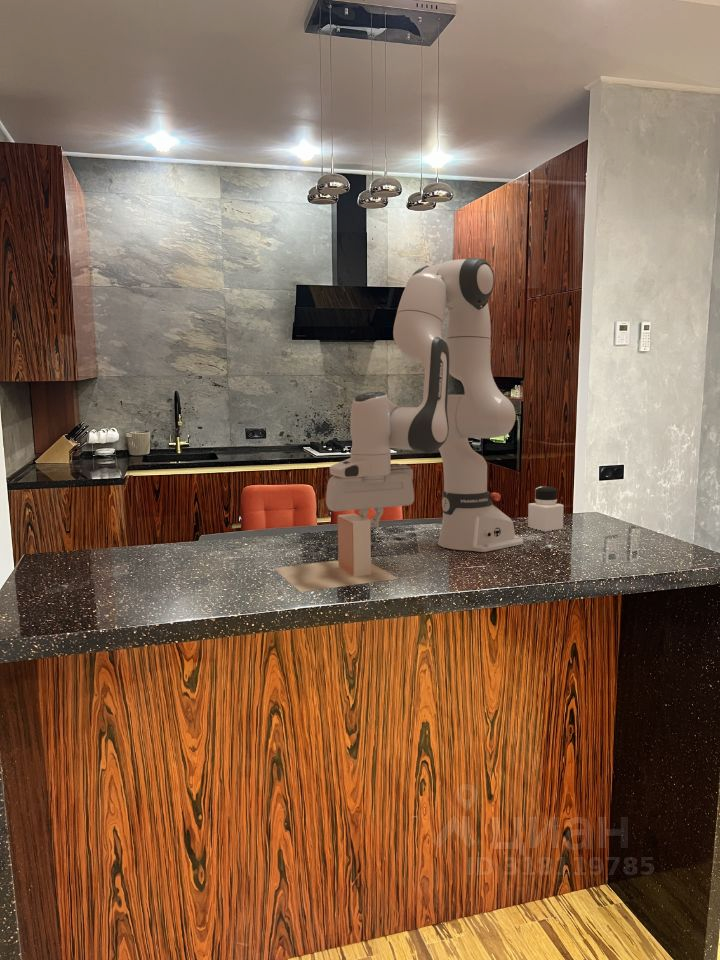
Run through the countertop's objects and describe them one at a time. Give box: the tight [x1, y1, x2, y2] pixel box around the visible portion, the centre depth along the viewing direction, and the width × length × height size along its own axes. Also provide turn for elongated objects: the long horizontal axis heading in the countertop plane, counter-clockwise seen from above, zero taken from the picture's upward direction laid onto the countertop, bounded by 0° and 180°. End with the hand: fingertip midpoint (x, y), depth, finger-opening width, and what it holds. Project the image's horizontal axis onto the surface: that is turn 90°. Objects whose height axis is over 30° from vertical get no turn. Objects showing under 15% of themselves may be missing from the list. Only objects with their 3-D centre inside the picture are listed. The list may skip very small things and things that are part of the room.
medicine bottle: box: [527, 486, 565, 533], centre depth 201 cm, size 7×7×12 cm
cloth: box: [273, 560, 399, 593], centre depth 155 cm, size 22×20×1 cm
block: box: [337, 513, 372, 577], centre depth 156 cm, size 4×9×12 cm, turn 23°
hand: (371, 527), depth 157 cm, fingers closed
